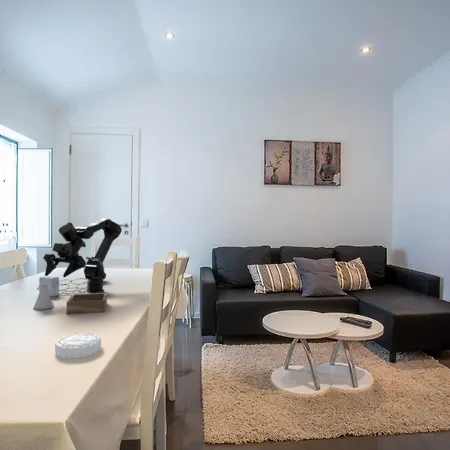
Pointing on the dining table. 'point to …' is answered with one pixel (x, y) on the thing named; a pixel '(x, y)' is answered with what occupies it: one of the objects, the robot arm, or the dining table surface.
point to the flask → (43, 298)
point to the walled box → (86, 303)
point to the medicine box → (51, 284)
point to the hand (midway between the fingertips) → (54, 276)
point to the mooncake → (77, 345)
